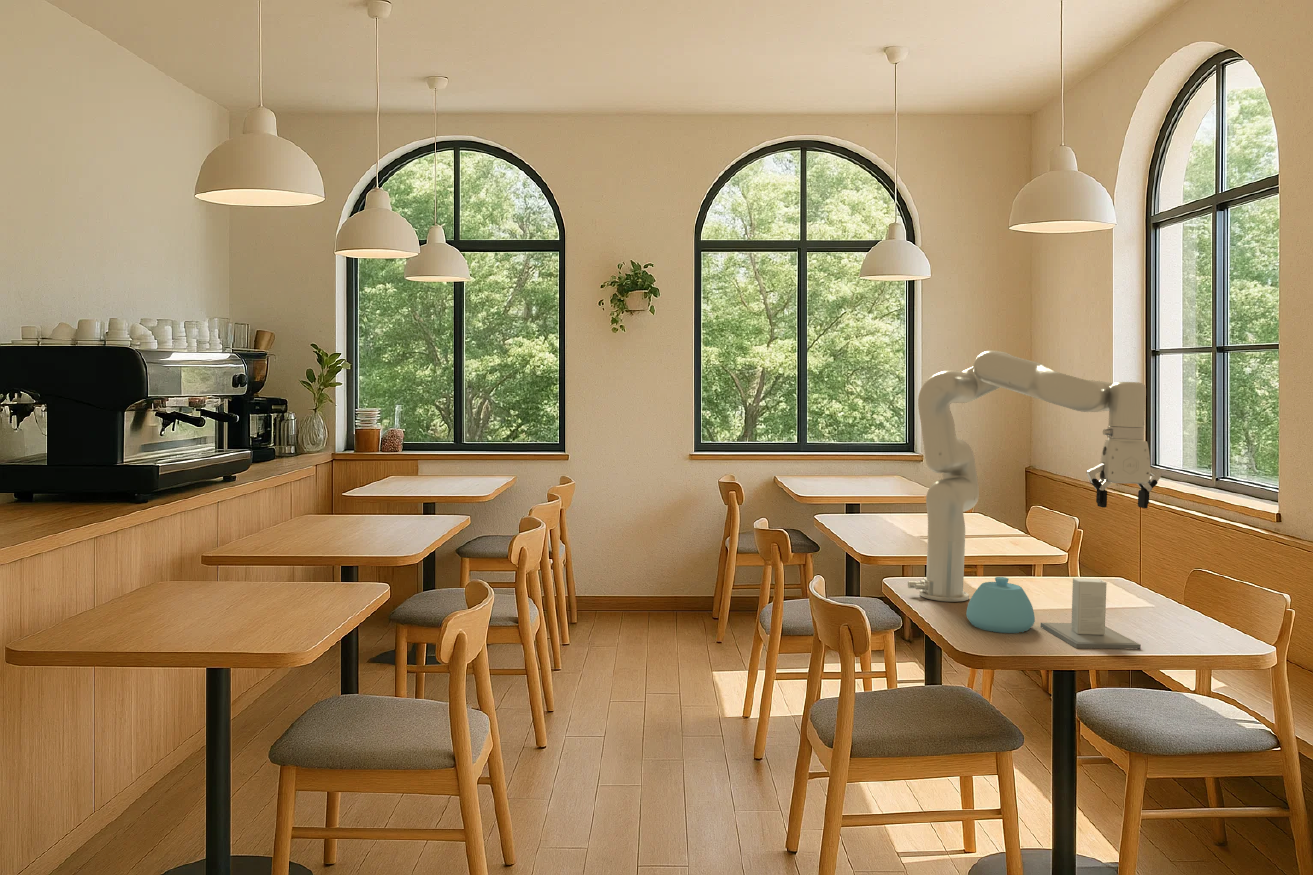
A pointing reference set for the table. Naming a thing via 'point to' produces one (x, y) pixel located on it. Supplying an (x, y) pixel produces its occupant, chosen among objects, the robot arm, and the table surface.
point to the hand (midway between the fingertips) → (1122, 507)
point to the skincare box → (1088, 606)
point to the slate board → (1089, 637)
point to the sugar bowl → (1000, 607)
